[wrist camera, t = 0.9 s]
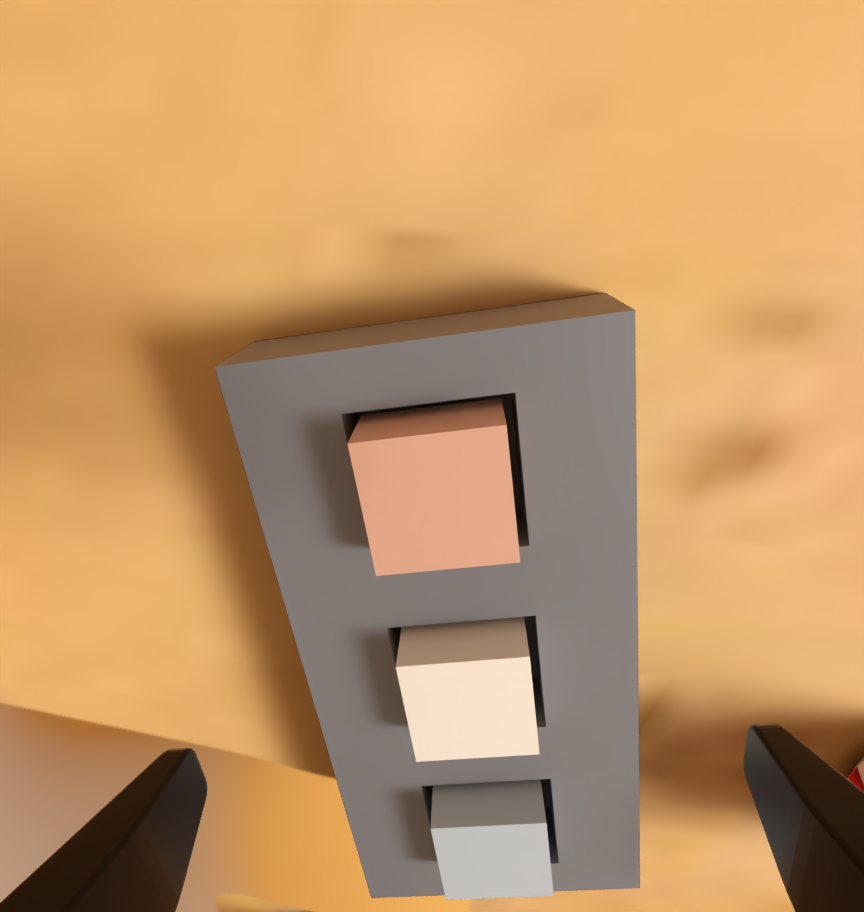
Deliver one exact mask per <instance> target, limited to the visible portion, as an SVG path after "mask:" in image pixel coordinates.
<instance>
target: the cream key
mask: <svg viewBox="0 0 864 912" xmlns="http://www.w3.org/2000/svg"><path fill="white" fill-rule="evenodd" d="M396 671H397V675H398V680H399V685H400V689H401V694H402V699H403V703H404V708H405V712H406V717H407V722H408V726H409V731H410V736H411V740H412V745H413V750H414V754H415V759H416V762H422V761H438V760H455V759H471V758H488V757H504V756H521V755H537V754H540V753H539V743H538V733H537V723H536V713H535V703H534V693H533V683H532V673H531V663H530V654H529V648H528V641H527V634H526V628H525V621H524V617H512V618H500V619H489V620H477V621H465V622H453V623H441V624H429V625H418V626H406V627H401V634H400V641H399V648H398V655H397V661H396Z"/></svg>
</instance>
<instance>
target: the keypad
mask: <svg viewBox="0 0 864 912" xmlns="http://www.w3.org/2000/svg"><path fill="white" fill-rule="evenodd" d="M215 370H216V374H217V377H218V381H219V384H220V387H221V391H222V394H223V397H224V401H225V404H226V408H227V411H228V414H229V418H230V421H231V425H232V428H233V431H234V435H235V438H236V442H237V445H238V448H239V452H240V455H241V458H242V462H243V465H244V469H245V472H246V475H247V479H248V482H249V486H250V489H251V492H252V496H253V499H254V502H255V506H256V509H257V513H258V516H259V519H260V523H261V526H262V530H263V533H264V536H265V540H266V543H267V547H268V550H269V553H270V557H271V560H272V563H273V567H274V570H275V574H276V577H277V580H278V584H279V587H280V591H281V594H282V597H283V601H284V604H285V608H286V611H287V614H288V618H289V621H290V624H291V628H292V631H293V635H294V638H295V641H296V645H297V648H298V652H299V655H300V658H301V662H302V665H303V668H304V672H305V675H306V679H307V682H308V685H309V689H310V692H311V696H312V699H313V702H314V706H315V709H316V713H317V716H318V719H319V723H320V726H321V729H322V733H323V736H324V740H325V743H326V746H327V750H328V753H329V757H330V760H331V763H332V767H333V770H334V773H335V777H336V780H337V783H338V787H339V790H340V794H341V797H342V801H343V804H344V807H345V811H346V814H347V817H348V821H349V824H350V828H351V831H352V834H353V838H354V841H355V845H356V848H357V851H358V854H359V858H360V861H361V865H362V868H363V871H364V875H365V878H366V882H367V885H368V888H369V892H370V895H371V898H381V897H382V898H383V897H411V896H438V895H445V893H444V888H443V884H442V879H441V875H440V870H439V865H438V861H437V856H436V851H435V847H434V842H433V837H432V833H431V811H432V792H433V785H449V784H467V783H484V782H502V781H520V780H538V779H541V786H542V794H543V801H544V808H545V816H546V823H547V833H548V843H549V853H550V863H551V873H552V883H553V891H574V890H601V889H628V888H640V828H639V710H638V593H637V475H636V357H635V310H634V309H632V308H631V307H629V306H627V305H625V304H624V303H622V302H620V301H619V300H617V299H615V298H613V297H612V296H610V295H608V294H607V293H602V294H595V295H587V296H580V297H573V298H566V299H559V300H551V301H544V302H537V303H530V304H522V305H515V306H508V307H501V308H494V309H486V310H479V311H472V312H465V313H457V314H450V315H443V316H436V317H429V318H421V319H414V320H407V321H400V322H392V323H385V324H378V325H371V326H364V327H356V328H349V329H342V330H335V331H327V332H320V333H313V334H306V335H299V336H291V337H284V338H277V339H270V340H262V341H255V342H253V343H251V344H250V345H248V346H247V347H245V348H243V349H242V350H240V351H239V352H237V353H236V354H234V355H232V356H231V357H229V358H228V359H226V360H225V361H223V362H221V363H220V364H218V365H217V366H215ZM498 398H501V400H502V405H503V410H504V415H505V419H506V424H507V434H508V444H509V454H510V464H511V474H512V484H513V494H514V504H515V514H516V524H517V534H518V543H519V553H520V563H510V564H499V565H489V566H478V567H467V568H457V569H446V570H435V571H425V572H414V573H403V574H393V575H382V576H376V574H375V569H374V564H373V560H372V555H371V550H370V546H369V541H368V537H367V532H366V527H365V523H364V518H363V513H362V509H361V504H360V499H359V495H358V490H357V486H356V481H355V476H354V472H353V467H352V462H351V458H350V453H349V449H348V444H347V443H348V441H349V439H350V437H351V435H352V433H353V431H354V429H355V427H356V425H357V423H358V421H359V419H360V417H361V415H367V414H375V413H383V412H392V411H400V410H408V409H416V408H424V407H432V406H440V405H449V404H457V403H465V402H473V401H481V400H489V399H498ZM512 617H524V621H525V628H526V634H527V641H528V648H529V654H530V663H531V673H532V683H533V693H534V703H535V713H536V723H537V733H538V743H539V753H540V754H537V755H521V756H504V757H488V758H471V759H455V760H438V761H422V762H416V759H415V754H414V750H413V745H412V740H411V736H410V731H409V726H408V722H407V717H406V712H405V708H404V703H403V699H402V694H401V689H400V685H399V680H398V675H397V671H396V661H397V655H398V648H399V641H400V634H401V627H406V626H418V625H429V624H441V623H453V622H465V621H477V620H489V619H500V618H512Z"/></svg>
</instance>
